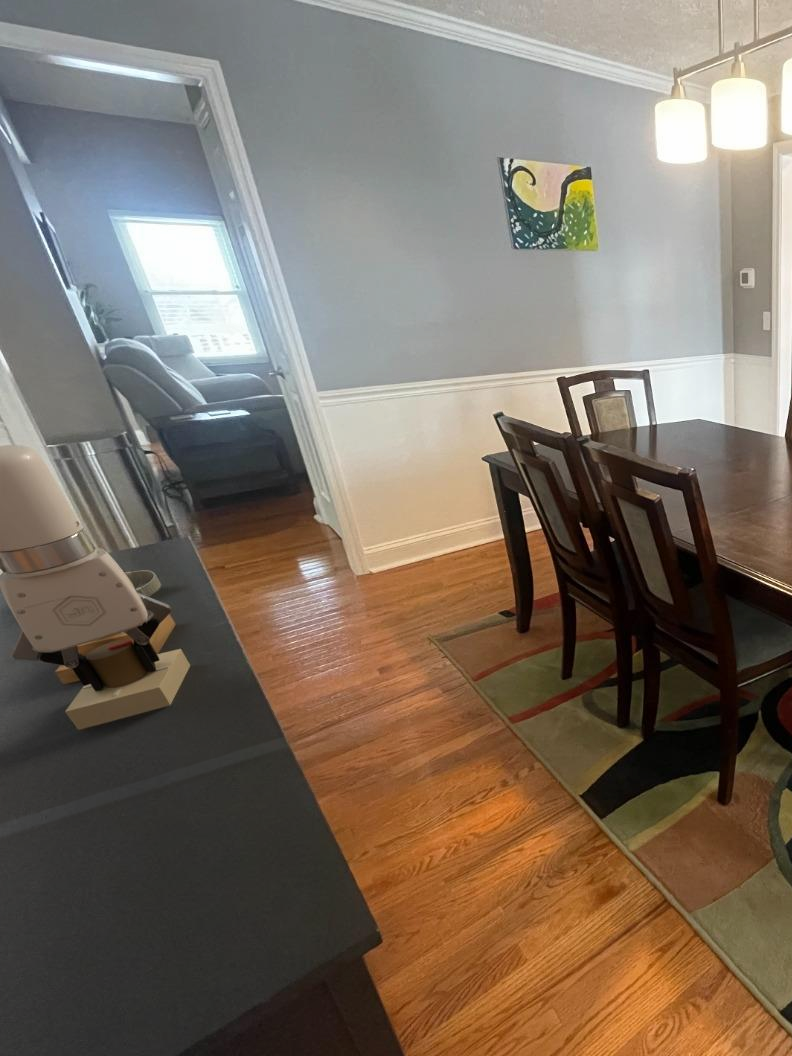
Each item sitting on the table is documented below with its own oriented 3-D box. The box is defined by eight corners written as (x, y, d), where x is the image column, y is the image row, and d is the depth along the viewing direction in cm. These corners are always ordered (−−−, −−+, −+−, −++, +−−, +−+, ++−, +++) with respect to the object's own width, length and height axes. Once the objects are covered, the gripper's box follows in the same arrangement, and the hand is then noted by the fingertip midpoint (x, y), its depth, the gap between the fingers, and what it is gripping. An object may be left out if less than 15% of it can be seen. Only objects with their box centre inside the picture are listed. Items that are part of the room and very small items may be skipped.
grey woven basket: (153, 585, 109) (139, 561, 107) (173, 590, 107) (159, 566, 104) (88, 610, 101) (72, 584, 99) (108, 616, 99) (92, 590, 97)
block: (63, 684, 83) (47, 661, 81) (96, 642, 92) (82, 620, 90) (152, 662, 87) (138, 640, 85) (175, 624, 96) (163, 603, 94)
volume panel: (78, 730, 74) (63, 710, 73) (107, 686, 82) (95, 667, 80) (170, 705, 78) (158, 686, 76) (190, 665, 86) (180, 647, 84)
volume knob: (103, 692, 76) (83, 662, 73) (104, 677, 78) (84, 647, 76) (149, 677, 78) (131, 646, 76) (148, 663, 81) (130, 633, 79)
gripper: (-70, 589, 62) (31, 723, 71) (145, 537, 73) (211, 659, 81) (-60, 568, 67) (34, 695, 75) (141, 522, 78) (204, 638, 86)
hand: (125, 675), depth 78 cm, fingers closed on volume knob, 4 cm apart
